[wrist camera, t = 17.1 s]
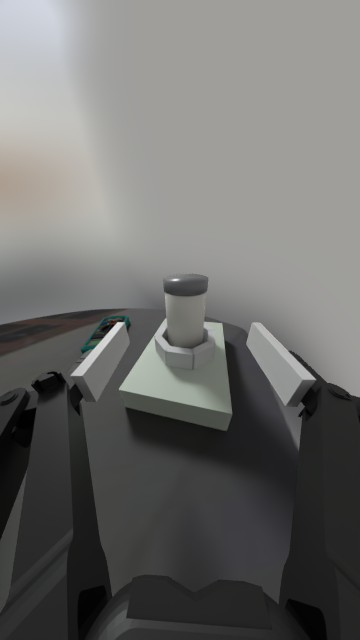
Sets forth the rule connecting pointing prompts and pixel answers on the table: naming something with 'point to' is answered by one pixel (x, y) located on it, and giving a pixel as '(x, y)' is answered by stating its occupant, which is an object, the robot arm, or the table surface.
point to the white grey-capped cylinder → (185, 309)
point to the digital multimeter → (103, 331)
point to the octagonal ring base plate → (182, 380)
